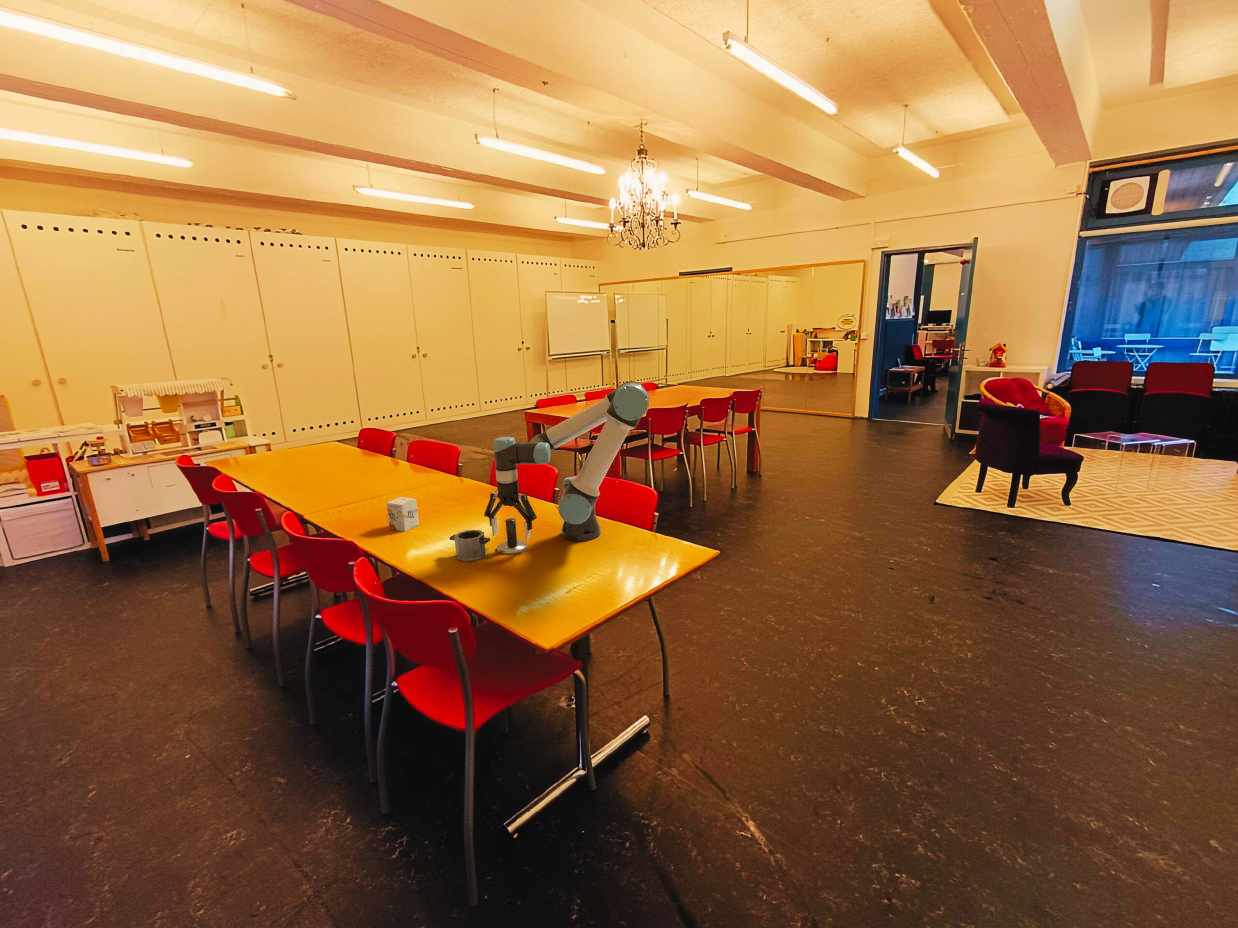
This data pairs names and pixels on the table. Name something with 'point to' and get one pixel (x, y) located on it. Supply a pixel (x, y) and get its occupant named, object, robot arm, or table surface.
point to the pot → (470, 545)
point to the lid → (512, 540)
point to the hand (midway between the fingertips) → (511, 536)
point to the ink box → (402, 514)
